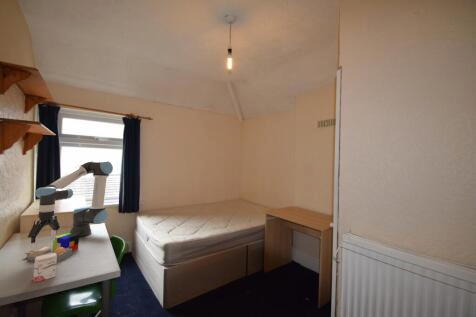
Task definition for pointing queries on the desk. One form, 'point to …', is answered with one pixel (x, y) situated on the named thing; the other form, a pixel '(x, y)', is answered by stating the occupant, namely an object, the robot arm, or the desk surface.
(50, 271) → the ink box
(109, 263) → the desk surface
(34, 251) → the tee
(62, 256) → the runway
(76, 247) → the puzzle toy
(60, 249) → the ball
